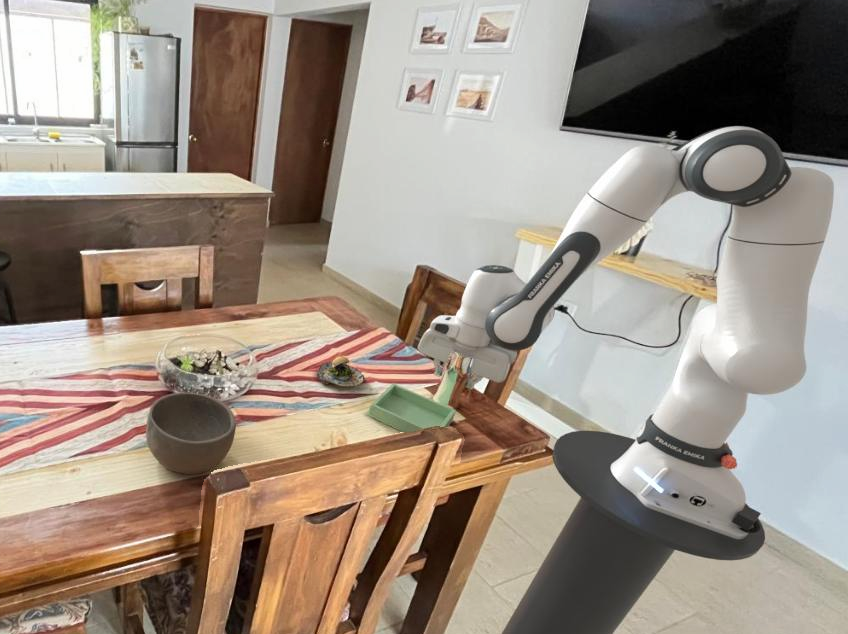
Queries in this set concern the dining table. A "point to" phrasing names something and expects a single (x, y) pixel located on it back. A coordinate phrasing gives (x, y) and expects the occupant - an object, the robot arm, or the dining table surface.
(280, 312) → the dining table surface
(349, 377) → the burger
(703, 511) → the robot arm
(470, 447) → the dining table surface
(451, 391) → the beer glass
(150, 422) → the bowl
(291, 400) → the dining table surface
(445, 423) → the serving tray
